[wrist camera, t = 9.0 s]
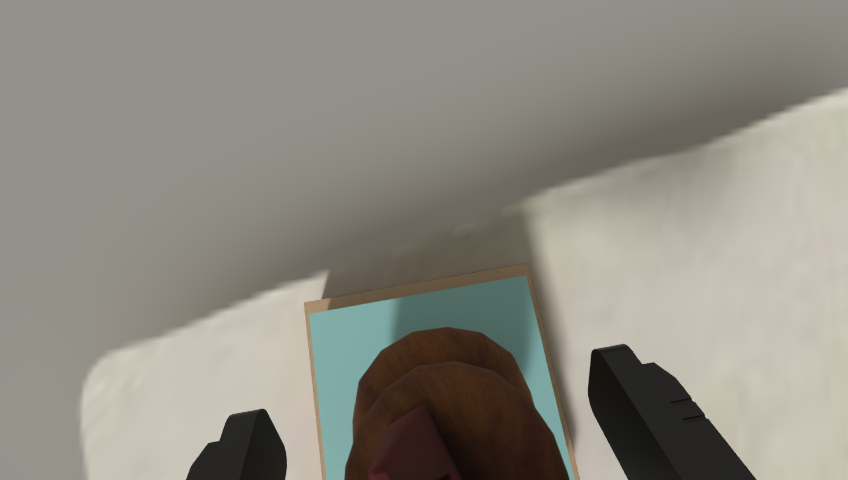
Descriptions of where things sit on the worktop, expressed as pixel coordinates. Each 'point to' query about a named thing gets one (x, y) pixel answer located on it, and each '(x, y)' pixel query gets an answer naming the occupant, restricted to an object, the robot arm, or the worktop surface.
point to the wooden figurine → (449, 414)
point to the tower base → (415, 311)
